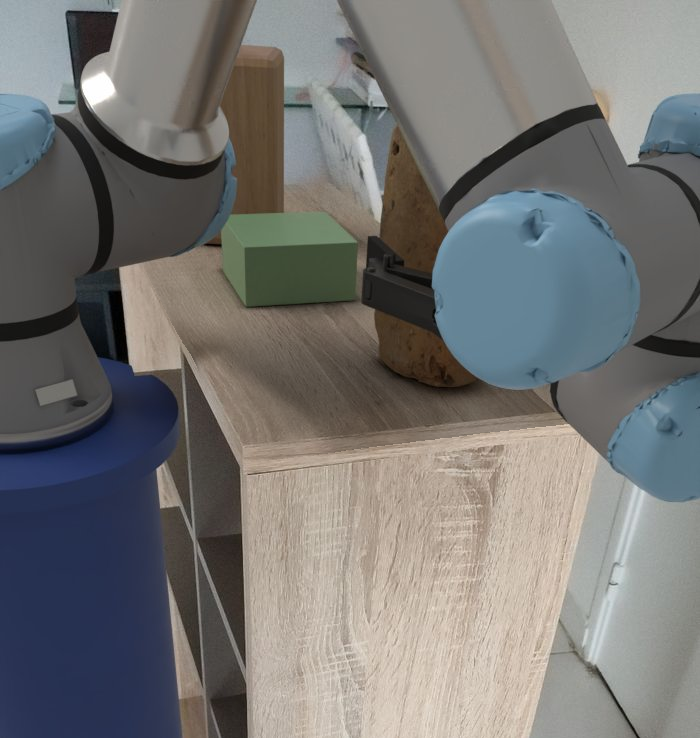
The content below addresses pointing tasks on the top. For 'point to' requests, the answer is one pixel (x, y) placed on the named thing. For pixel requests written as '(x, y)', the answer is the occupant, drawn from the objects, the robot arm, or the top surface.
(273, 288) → the green base
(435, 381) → the brown porous chunk
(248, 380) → the top surface
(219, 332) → the top surface
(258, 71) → the wooden block
